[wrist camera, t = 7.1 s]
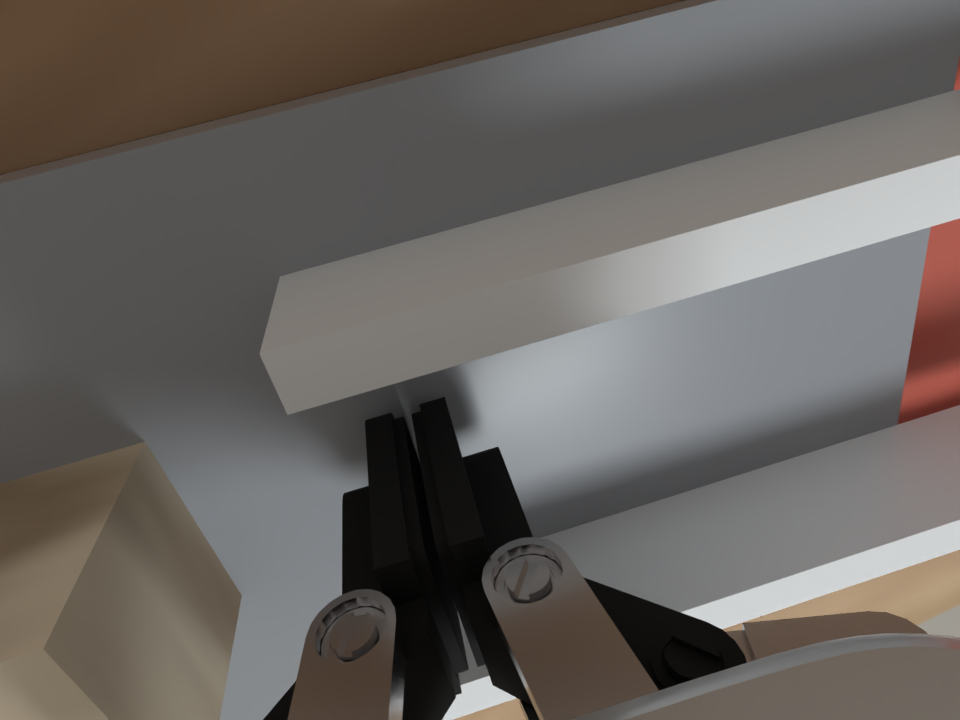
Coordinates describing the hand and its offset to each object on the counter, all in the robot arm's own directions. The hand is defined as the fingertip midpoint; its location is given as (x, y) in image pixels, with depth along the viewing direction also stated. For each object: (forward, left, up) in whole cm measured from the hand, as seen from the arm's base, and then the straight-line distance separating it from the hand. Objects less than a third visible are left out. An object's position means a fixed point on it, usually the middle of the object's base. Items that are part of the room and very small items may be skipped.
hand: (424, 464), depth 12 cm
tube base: (-4, 0, -2) cm, 5 cm away
